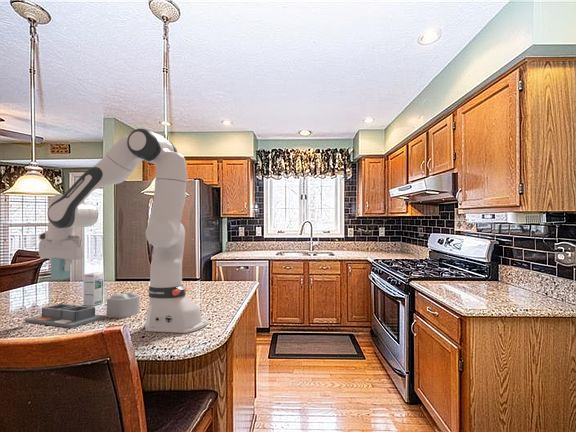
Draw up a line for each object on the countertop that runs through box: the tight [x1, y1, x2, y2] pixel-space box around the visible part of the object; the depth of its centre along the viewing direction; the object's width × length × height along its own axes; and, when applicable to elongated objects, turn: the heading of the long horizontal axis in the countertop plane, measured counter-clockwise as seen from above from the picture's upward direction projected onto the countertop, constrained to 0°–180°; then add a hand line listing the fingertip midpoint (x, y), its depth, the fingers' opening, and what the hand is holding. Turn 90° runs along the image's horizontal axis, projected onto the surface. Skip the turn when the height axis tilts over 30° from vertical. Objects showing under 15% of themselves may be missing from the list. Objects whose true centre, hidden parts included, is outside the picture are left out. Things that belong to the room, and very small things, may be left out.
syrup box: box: [83, 271, 104, 307], centre depth 159 cm, size 6×6×14 cm
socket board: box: [24, 303, 106, 329], centre depth 131 cm, size 24×14×4 cm, turn 70°
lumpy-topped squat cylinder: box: [106, 291, 141, 319], centre depth 142 cm, size 10×13×9 cm
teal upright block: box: [50, 258, 71, 280], centre depth 134 cm, size 4×4×8 cm
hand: (60, 270), depth 134 cm, fingers closed on teal upright block, 4 cm apart
